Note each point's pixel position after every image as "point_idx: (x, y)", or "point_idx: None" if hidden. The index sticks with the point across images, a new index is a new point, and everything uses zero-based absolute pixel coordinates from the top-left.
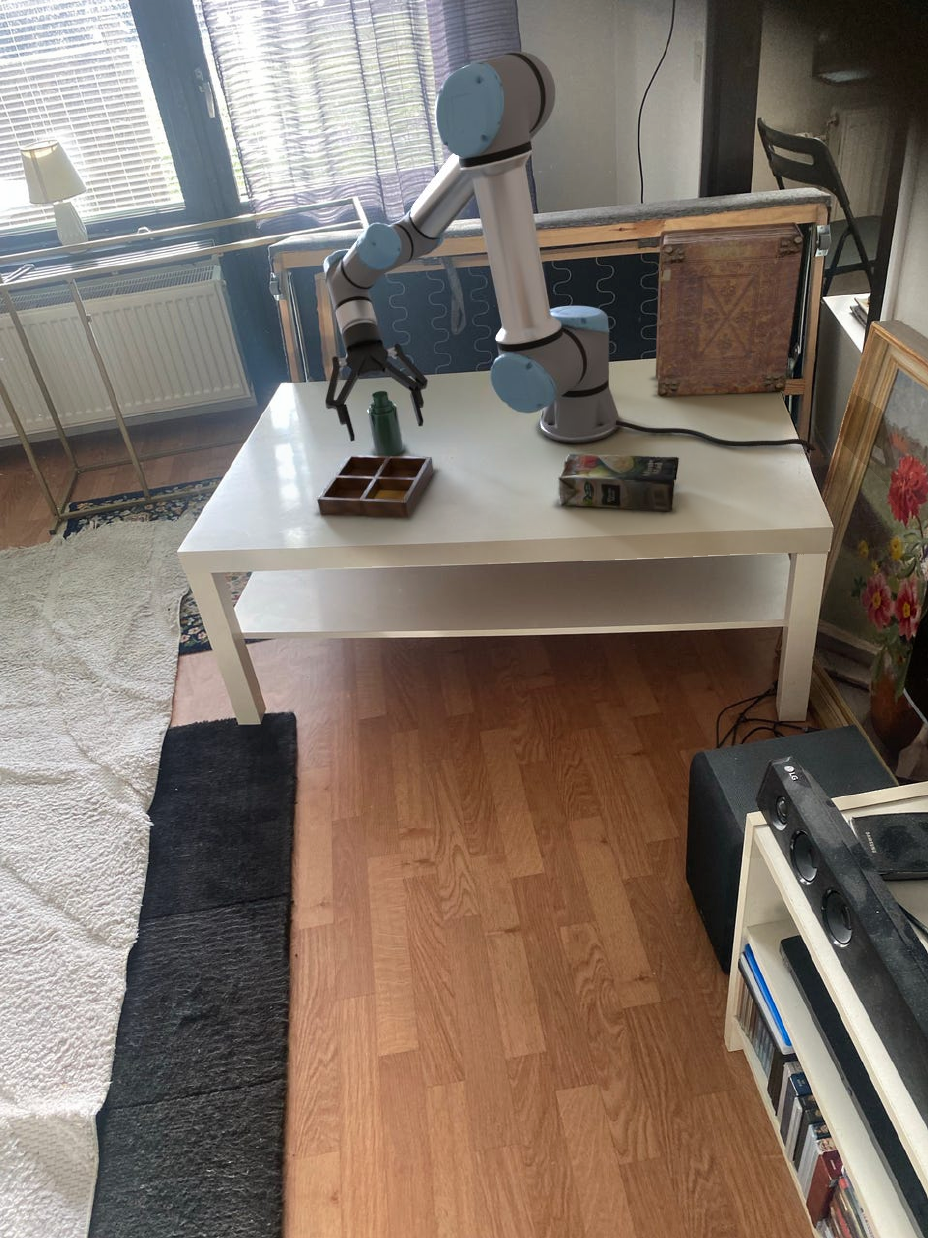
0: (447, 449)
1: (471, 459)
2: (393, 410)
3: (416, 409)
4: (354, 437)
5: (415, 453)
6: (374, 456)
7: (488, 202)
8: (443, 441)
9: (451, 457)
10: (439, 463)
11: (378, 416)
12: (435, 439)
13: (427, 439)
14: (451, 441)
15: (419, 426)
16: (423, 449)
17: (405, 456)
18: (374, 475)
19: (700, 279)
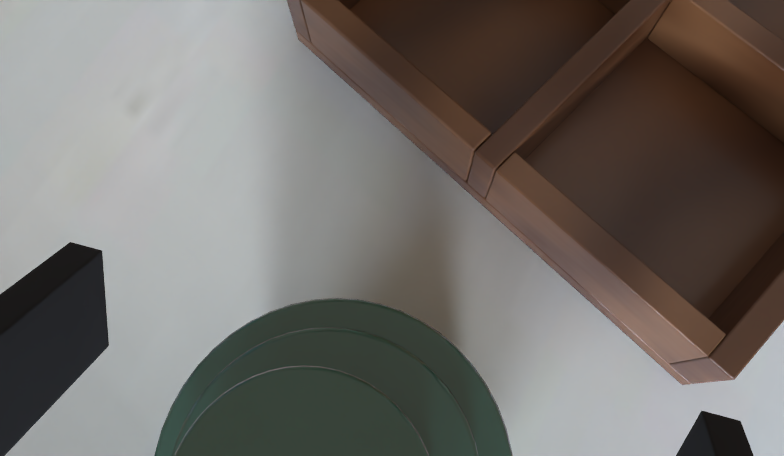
0: (89, 209)
1: (75, 26)
2: (254, 336)
3: (21, 314)
4: (684, 441)
5: (256, 296)
6: (575, 222)
7: None
8: None
9: (134, 111)
10: (223, 96)
11: (450, 345)
12: None
13: (88, 421)
14: (5, 283)
15: (103, 343)
16: (190, 309)
17: (403, 86)
18: (601, 174)
19: None
